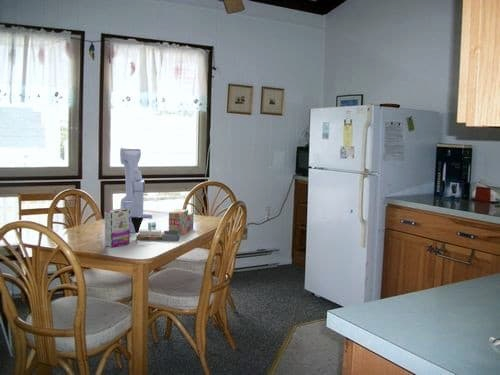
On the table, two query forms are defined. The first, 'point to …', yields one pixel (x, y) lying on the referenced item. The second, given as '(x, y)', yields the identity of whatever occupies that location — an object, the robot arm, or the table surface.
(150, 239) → the board
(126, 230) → the candy bar box
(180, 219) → the stack of blocks
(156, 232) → the tile
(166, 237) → the tray
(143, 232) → the tile
